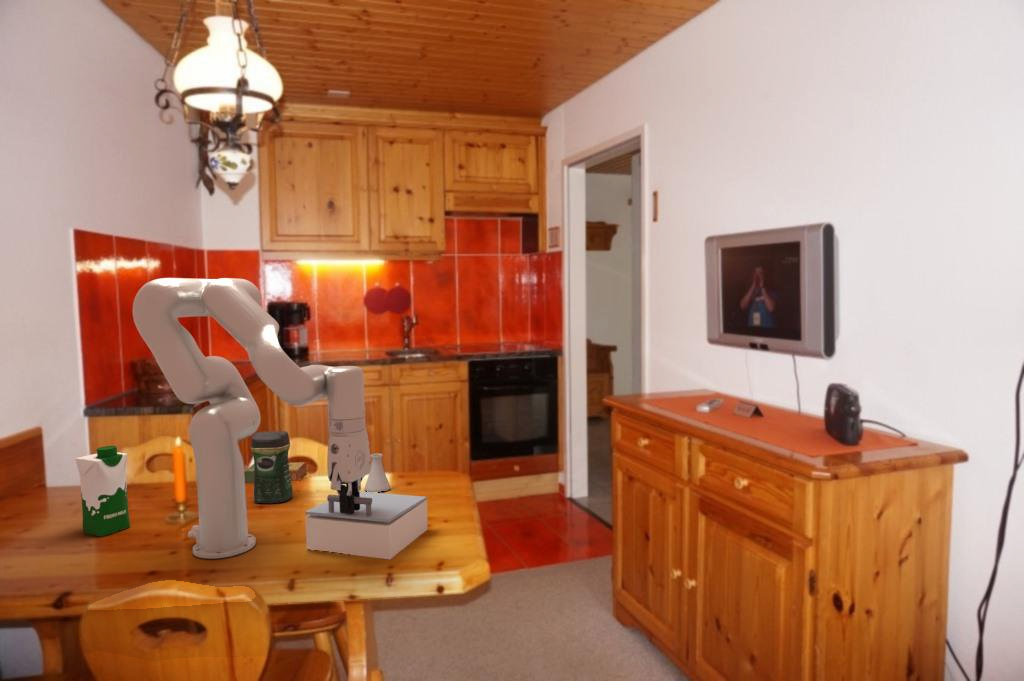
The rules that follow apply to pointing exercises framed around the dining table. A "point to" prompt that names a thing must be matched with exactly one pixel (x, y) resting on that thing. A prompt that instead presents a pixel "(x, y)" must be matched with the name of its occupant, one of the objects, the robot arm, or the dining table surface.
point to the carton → (295, 469)
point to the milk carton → (104, 491)
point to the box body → (366, 533)
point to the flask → (377, 476)
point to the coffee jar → (271, 467)
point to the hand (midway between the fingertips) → (350, 510)
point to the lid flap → (369, 506)
